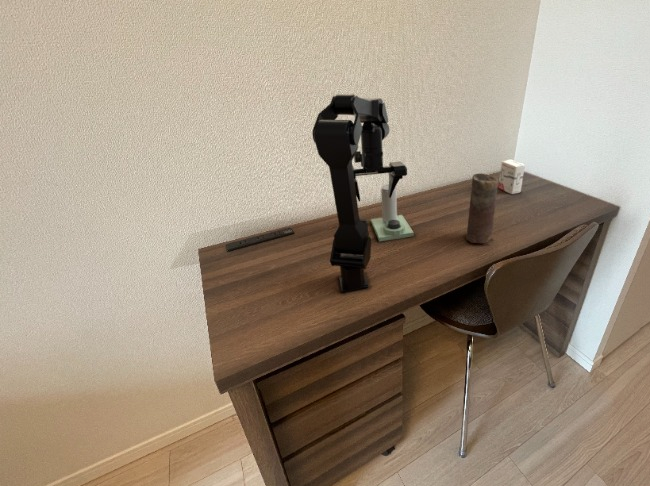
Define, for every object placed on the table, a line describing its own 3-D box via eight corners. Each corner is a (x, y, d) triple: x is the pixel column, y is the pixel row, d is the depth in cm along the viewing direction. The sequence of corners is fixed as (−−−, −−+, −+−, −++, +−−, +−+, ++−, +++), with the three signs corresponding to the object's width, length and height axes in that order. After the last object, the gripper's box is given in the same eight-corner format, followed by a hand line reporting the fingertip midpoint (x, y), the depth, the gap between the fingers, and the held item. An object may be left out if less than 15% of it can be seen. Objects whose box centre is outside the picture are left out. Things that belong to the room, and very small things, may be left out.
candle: (473, 230, 103) (479, 170, 93) (495, 237, 98) (503, 175, 89) (461, 240, 97) (467, 177, 88) (484, 248, 93) (491, 183, 84)
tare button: (401, 229, 99) (401, 224, 98) (389, 230, 98) (389, 225, 97) (398, 223, 102) (397, 218, 101) (387, 225, 101) (386, 220, 100)
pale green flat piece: (413, 236, 100) (413, 228, 98) (379, 242, 97) (379, 233, 96) (402, 218, 111) (402, 210, 110) (371, 222, 109) (370, 214, 107)
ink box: (497, 187, 135) (500, 160, 130) (506, 185, 137) (510, 158, 132) (511, 194, 128) (516, 166, 123) (521, 192, 130) (525, 164, 125)
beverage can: (395, 224, 104) (394, 190, 99) (381, 223, 105) (379, 189, 99) (398, 218, 108) (397, 184, 103) (384, 216, 109) (383, 183, 104)
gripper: (397, 138, 97) (397, 186, 104) (334, 142, 93) (340, 193, 100) (407, 146, 87) (407, 199, 94) (338, 151, 83) (344, 206, 90)
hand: (374, 199), depth 95 cm, fingers open, 9 cm apart
